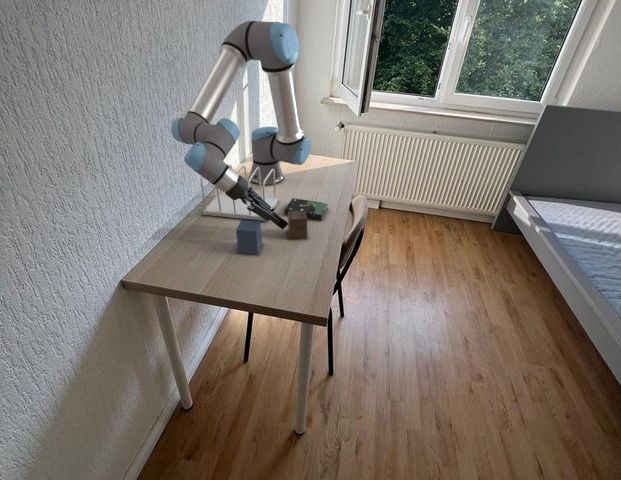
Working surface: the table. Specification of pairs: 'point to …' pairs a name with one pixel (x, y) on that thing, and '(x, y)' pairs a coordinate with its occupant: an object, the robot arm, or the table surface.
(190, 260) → the table surface
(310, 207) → the disk drive
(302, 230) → the walnut block
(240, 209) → the file sorter
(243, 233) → the slate-blue block
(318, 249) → the table surface
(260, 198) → the robot arm
